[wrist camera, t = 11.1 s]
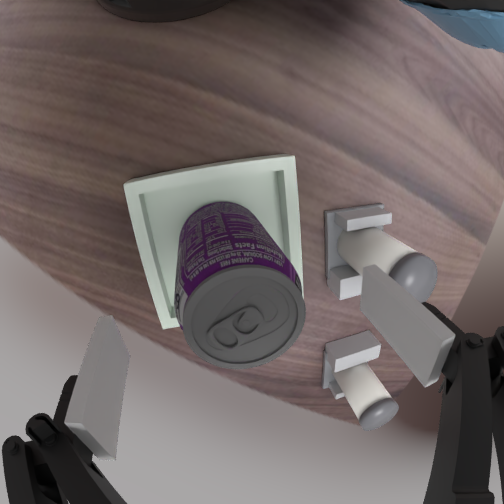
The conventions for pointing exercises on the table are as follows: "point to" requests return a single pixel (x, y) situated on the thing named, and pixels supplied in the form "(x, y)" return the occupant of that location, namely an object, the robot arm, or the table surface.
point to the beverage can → (235, 289)
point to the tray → (200, 194)
